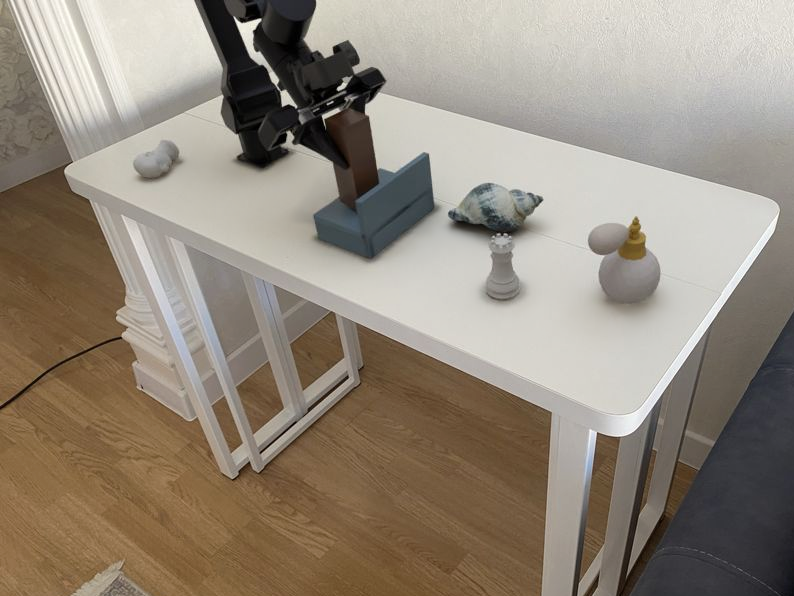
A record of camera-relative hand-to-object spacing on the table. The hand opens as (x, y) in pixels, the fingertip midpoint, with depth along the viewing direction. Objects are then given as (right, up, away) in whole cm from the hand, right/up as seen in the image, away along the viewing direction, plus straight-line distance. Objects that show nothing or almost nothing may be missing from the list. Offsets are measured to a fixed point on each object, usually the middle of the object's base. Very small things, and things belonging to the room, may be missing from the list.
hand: (360, 161), depth 97 cm
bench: (+1, -7, +9) cm, 11 cm away
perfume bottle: (+34, -19, -6) cm, 40 cm away
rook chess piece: (+19, -18, -4) cm, 26 cm away
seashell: (+18, -8, +7) cm, 21 cm away
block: (-1, -4, +5) cm, 7 cm away
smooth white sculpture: (-37, +5, +25) cm, 45 cm away
